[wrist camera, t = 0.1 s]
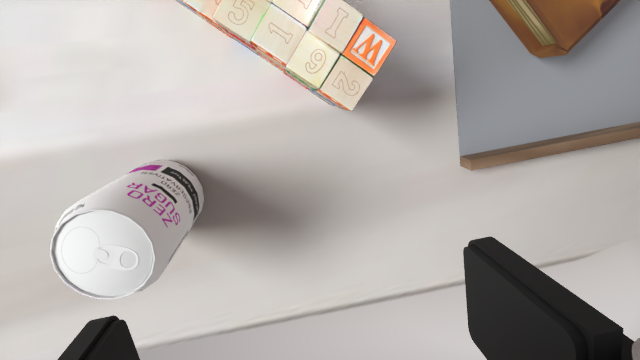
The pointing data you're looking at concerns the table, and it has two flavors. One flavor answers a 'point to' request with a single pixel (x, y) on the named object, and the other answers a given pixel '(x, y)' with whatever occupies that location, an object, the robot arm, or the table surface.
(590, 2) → the diary
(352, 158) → the table surface
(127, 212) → the supplement can
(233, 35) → the stack of blocks
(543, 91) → the display board
